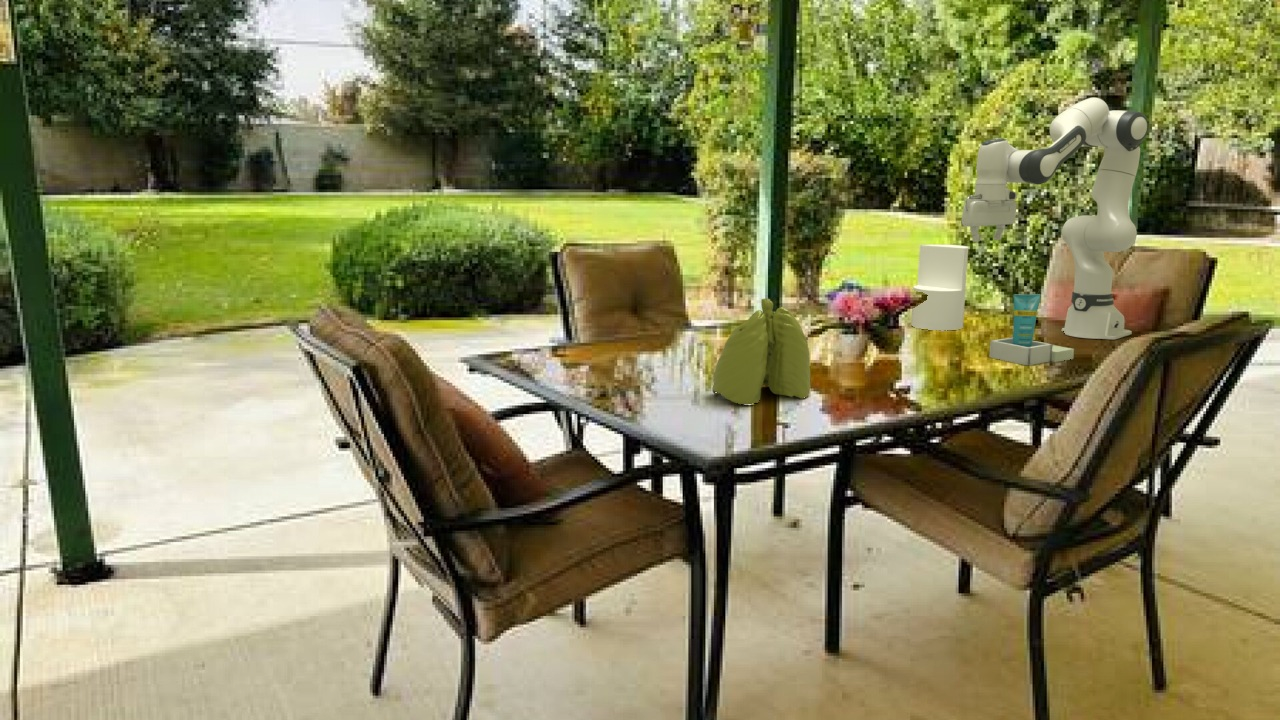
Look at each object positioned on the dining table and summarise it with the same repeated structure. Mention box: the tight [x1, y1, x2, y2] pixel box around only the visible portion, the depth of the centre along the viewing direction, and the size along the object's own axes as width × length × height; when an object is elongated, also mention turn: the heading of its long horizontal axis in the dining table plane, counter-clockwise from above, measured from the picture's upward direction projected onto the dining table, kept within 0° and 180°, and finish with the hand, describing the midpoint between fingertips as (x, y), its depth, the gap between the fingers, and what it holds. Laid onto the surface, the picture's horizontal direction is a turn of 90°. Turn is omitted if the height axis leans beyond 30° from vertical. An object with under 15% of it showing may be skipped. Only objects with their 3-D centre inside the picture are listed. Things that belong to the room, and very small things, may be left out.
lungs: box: [712, 298, 811, 405], centre depth 223 cm, size 25×16×24 cm, turn 114°
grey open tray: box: [988, 336, 1075, 366], centre depth 265 cm, size 18×16×5 cm
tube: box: [1012, 293, 1041, 347], centre depth 262 cm, size 7×5×19 cm, turn 90°
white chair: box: [910, 244, 969, 332], centre depth 314 cm, size 17×17×28 cm
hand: (986, 240), depth 274 cm, fingers open, 8 cm apart
